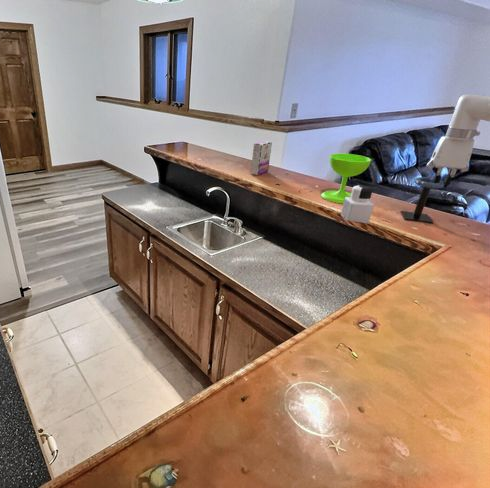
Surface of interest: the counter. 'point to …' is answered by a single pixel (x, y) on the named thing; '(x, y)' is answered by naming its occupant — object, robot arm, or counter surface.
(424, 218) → the stand
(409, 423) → the counter surface
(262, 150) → the candy bar box
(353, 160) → the wineglass
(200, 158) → the counter surface
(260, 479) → the counter surface
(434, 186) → the ring
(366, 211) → the container
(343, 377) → the counter surface
